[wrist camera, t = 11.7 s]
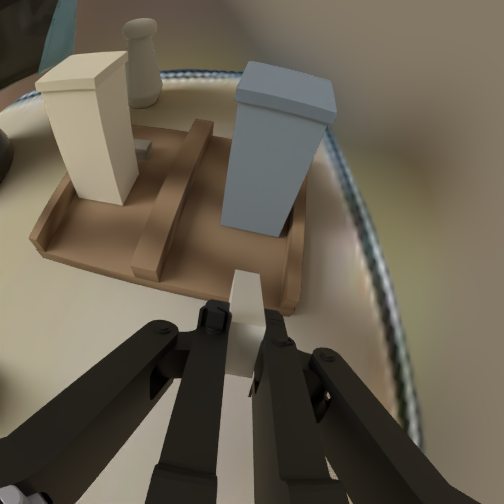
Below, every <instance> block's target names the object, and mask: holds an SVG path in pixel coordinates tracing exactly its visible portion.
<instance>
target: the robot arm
mask: <svg viewBox="0 0 504 504" xmlns="http://www.w3.org/2000/svg"><path fill="white" fill-rule="evenodd" d="M76 10H77V0H0V92H2V91H4V90H6V89H7V88H9V87H11V86H13V85H15V84H17V83H20V82H21V81H24V80H26V79H28V78H30V77H33V76H35V75H41V74H42V72H44V71H46V70H48V69H51V68H53V67H55V66H57V65H58V64H59V63H61V62H62V61H63V60H65V59H66V58H68V57H69V56H71V55H72V53H73V51H74V46H75V24H76ZM12 157H13V148H12V145H11V143H10V141H9V139H8V137H7V135H6V134H5V133H4V132H3V131H2V130H1V129H0V182H1V181H2V179H3V178H4V176H5V174H6V172H7V170H8V168H9V166H10V164H11V161H12ZM253 372H254V379H253V383H252V386H251V389H250V393H249V396H248V397H251V395H252V415H253V458H254V498H255V504H349V501H348V497H347V494H348V496H349V498H350V499H351V501H352V503H353V504H481V503H479V502H477V501H475V500H474V499H472V498H470V497H469V496H467V495H465V494H464V493H462V492H461V491H459V490H457V489H455V488H454V487H452V486H451V485H449V484H448V482H447V481H446V480H445V479H444V478H443V477H442V475H441V474H440V473H439V472H438V470H437V469H436V468H435V467H434V466H433V465H432V463H431V462H430V461H429V460H428V459H427V457H426V456H425V455H424V454H423V453H422V452H421V450H420V449H419V448H418V447H417V446H416V444H415V443H414V442H413V441H412V440H411V438H410V437H409V436H408V435H407V434H406V433H405V431H404V430H403V429H402V428H401V427H400V425H399V424H398V423H397V422H396V421H395V420H394V418H393V417H392V416H391V415H390V414H389V412H388V411H387V410H386V409H385V408H384V406H383V405H382V404H381V403H380V402H379V401H378V399H377V398H376V397H375V396H374V395H373V393H372V392H371V391H370V390H369V389H368V388H367V386H366V385H365V384H364V383H363V382H362V380H361V379H360V378H359V377H358V376H357V375H356V373H355V372H354V371H353V370H352V369H351V367H350V366H349V365H348V364H347V363H346V362H345V360H344V359H343V358H342V357H341V356H340V355H339V354H338V353H337V352H335V351H333V350H332V349H329V348H316V349H315V350H314V351H313V353H312V355H311V354H308V353H305V352H302V351H299V350H298V349H297V348H296V344H295V342H294V340H292V339H291V338H290V337H288V335H287V331H286V327H285V323H284V319H283V316H282V315H281V314H280V313H279V312H278V311H276V310H270V309H265V308H264V306H263V298H262V290H261V282H260V274H256V273H251V272H246V271H241V270H236V269H235V274H234V279H233V283H232V288H231V293H230V298H229V302H224V301H219V300H214V299H211V300H209V301H208V302H206V305H205V306H203V307H201V309H200V312H199V318H198V325H197V329H196V330H193V331H189V332H179V330H178V327H177V326H176V325H175V324H173V323H171V322H169V321H166V320H154V321H151V322H149V323H147V324H146V325H145V326H143V327H142V328H141V329H140V330H138V331H137V332H136V333H135V334H133V335H132V336H131V337H130V338H128V339H127V340H126V341H125V342H123V343H122V344H121V345H120V346H118V347H117V348H116V349H114V350H113V351H112V352H111V353H109V354H108V355H107V356H106V357H104V358H103V359H102V360H101V361H99V362H98V363H97V364H96V365H94V366H93V367H92V368H91V369H89V370H88V371H87V372H86V373H84V374H83V375H82V376H81V377H79V378H78V379H77V380H76V381H74V382H73V383H72V384H71V385H70V386H68V387H67V388H66V389H65V390H63V391H62V392H61V393H60V394H58V395H57V396H56V397H55V398H53V399H52V400H51V401H50V402H48V403H47V404H46V405H45V406H44V407H42V408H41V409H40V410H39V411H37V412H36V413H35V414H34V415H33V416H31V417H30V418H29V419H28V420H26V421H25V422H24V423H23V424H21V425H20V426H19V427H18V428H17V429H15V430H14V431H13V432H12V433H11V434H9V435H8V436H7V437H4V438H1V439H0V504H75V503H76V502H77V501H78V500H79V499H80V497H81V496H82V495H83V494H84V493H85V491H86V490H87V489H88V488H89V487H90V485H91V484H92V483H93V482H94V480H95V479H96V478H97V477H98V476H99V474H100V473H101V472H102V471H103V469H104V468H105V467H106V466H107V465H108V463H109V462H110V461H111V460H112V458H113V457H114V456H115V455H116V453H117V452H118V451H119V450H120V448H121V447H122V446H123V445H124V443H125V442H126V441H127V440H128V439H129V437H130V436H131V435H132V433H133V432H134V431H135V430H136V428H137V427H138V426H139V425H140V423H141V422H142V421H143V420H144V418H145V417H146V416H147V415H148V413H149V412H150V411H151V410H152V408H153V407H154V406H155V404H156V403H157V402H158V401H159V399H160V398H161V397H162V396H163V394H164V393H165V392H166V390H167V389H168V388H169V387H170V385H171V384H172V383H173V380H174V378H182V379H181V383H180V386H179V390H178V393H177V397H176V400H175V404H174V407H173V411H172V415H171V418H170V422H169V426H168V429H167V433H166V437H165V440H164V444H163V448H162V452H161V456H160V459H159V462H158V464H156V465H155V467H154V470H153V474H152V477H151V481H150V485H149V489H148V493H147V497H146V501H145V504H216V498H217V476H216V465H217V453H218V441H219V430H220V418H221V407H222V397H223V386H224V376H225V374H230V375H236V376H243V377H249V378H252V375H253ZM327 393H329V394H330V399H328V397H327V396H326V395H327ZM324 454H325V455H324ZM325 456H326V458H327V460H328V461H329V463H330V465H331V467H332V469H333V470H334V472H335V474H336V475H337V477H338V479H339V480H335V479H332V478H331V477H330V474H329V471H328V467H327V463H326V459H325ZM346 493H347V494H346Z"/></svg>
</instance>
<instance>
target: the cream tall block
mask: <svg viewBox="0 0 504 504" xmlns="http://www.w3.org/2000/svg"><path fill="white" fill-rule="evenodd" d="M127 61H128V51H117V52H101V53H89V54H80V55H71V56H69V57H68V58H66V59H65V60H63V61H62V62H61V63H59V64H58V65H57V66H55V67H54V68H53V69H51V70H50V71H49V72H48V73H46V74H45V75H44V76H43V77H41V78H40V79H39V80H38V81H37V82H35V86H36V90H37V92H41V94H42V98H43V101H44V105H45V108H46V111H47V115H48V118H49V121H50V124H51V127H52V130H53V133H54V136H55V139H56V142H57V144H58V147H59V150H60V153H61V155H62V158H63V161H64V163H65V166H66V168H67V171H68V173H69V176H70V178H71V180H72V183H73V185H74V188H75V190H76V192H77V194H78V197H79V198H84V199H89V200H95V201H100V202H106V203H111V204H117V205H122V206H123V204H124V202H125V200H126V198H127V196H128V194H129V192H130V190H131V189H132V187H133V185H134V183H135V181H136V179H137V177H138V175H139V171H138V165H137V159H136V153H135V147H134V141H133V134H132V127H131V119H130V111H129V103H128V94H127V84H126V72H125V63H126V62H127Z"/></svg>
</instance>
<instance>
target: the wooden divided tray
mask: <svg viewBox="0 0 504 504" xmlns="http://www.w3.org/2000/svg"><path fill="white" fill-rule="evenodd" d="M213 124H214V122H212V121H206V120H199V119H196V120H195V121H194V123H193V125H192V127H191V129H190V131H189V132H185V131H178V130H171V129H163V128H155V127H146V126H136V125H131V127H132V134H133V141H134V147H135V153H136V159H137V165H138V171H139V175H138V177H137V179H136V181H135V183H134V185H133V187H132V189H131V190H130V192H129V194H128V196H127V198H126V200H125V202H124V204H123V206H122V205H117V204H111V203H106V202H100V201H95V200H89V199H84V198H79V197H78V194H77V192H76V190H75V188H74V185H73V183H72V180H71V178H70V176H69V173H68V171H67V173H66V174H65V176H64V177H63V179H62V180H61V182H60V183H59V185H58V187H57V188H56V190H55V191H54V193H53V195H52V196H51V198H50V200H49V201H48V203H47V205H46V206H45V208H44V210H43V212H42V213H41V215H40V217H39V219H38V221H37V223H36V224H35V226H34V228H33V230H32V232H31V234H30V236H29V239H30V241H31V242H32V243H33V244H34V246H35V247H36V248H37V249H36V250H37V251H38V252H39V253H40V255H41V256H42V257H43V258H46V259H50V260H53V261H56V262H59V263H63V264H66V265H69V266H73V267H76V268H79V269H83V270H86V271H90V272H93V273H97V274H100V275H104V276H108V277H111V278H115V279H119V280H123V281H126V282H130V283H134V284H138V285H142V286H146V287H150V288H154V289H158V290H162V291H167V292H171V293H175V294H180V295H184V296H188V297H193V298H197V299H202V300H207V301H209V300H211V299H214V300H219V301H224V302H229V298H230V293H231V288H232V283H233V279H234V274H235V269H236V270H241V271H246V272H251V273H256V274H260V282H261V290H262V298H263V306H264V308H265V309H270V310H276V311H278V312H279V313H280V314H281V315H284V316H290V315H291V314H292V313H293V312H294V311H295V306H296V305H297V304H298V303H299V302H300V293H301V280H302V265H303V249H304V230H305V206H306V176H305V178H304V181H303V183H302V185H301V187H300V190H299V192H298V194H297V196H296V199H295V201H294V203H293V205H292V208H291V210H290V212H289V215H288V217H287V219H286V221H285V223H284V226H283V228H282V230H281V232H280V235H279V237H274V236H270V235H265V234H261V233H256V232H251V231H247V230H242V229H237V228H232V227H228V226H223V225H220V223H221V215H222V208H223V200H224V193H225V186H226V178H227V171H228V165H229V158H230V151H231V145H232V139H227V138H222V137H216V136H212V134H213Z"/></svg>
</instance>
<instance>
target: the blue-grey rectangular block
mask: <svg viewBox="0 0 504 504" xmlns="http://www.w3.org/2000/svg"><path fill="white" fill-rule="evenodd" d="M234 101H238V107H237V113H236V119H235V125H234V132H233V138H232V145H231V151H230V158H229V165H228V171H227V178H226V186H225V193H224V200H223V208H222V215H221V223H220V225H223V226H228V227H232V228H237V229H242V230H247V231H251V232H256V233H261V234H265V235H270V236H274V237H279V235H280V232H281V230H282V228H283V226H284V223H285V221H286V219H287V217H288V215H289V212H290V210H291V208H292V205H293V203H294V201H295V199H296V196H297V194H298V192H299V190H300V187H301V185H302V183H303V181H304V178H305V176H306V174H307V171H308V169H309V167H310V164H311V162H312V160H313V158H314V155H315V153H316V151H317V148H318V146H319V144H320V141H321V139H322V137H323V134H324V132H325V130H326V127H327V125H328V123H329V124H333V122H334V120H335V118H336V115H337V108H336V103H335V98H334V93H333V88H332V83H331V81H329V80H325V79H322V78H319V77H315V76H312V75H309V74H305V73H301V72H297V71H294V70H289V69H286V68H281V67H277V66H273V65H268V64H263V63H258V62H253V61H249V63H248V65H247V67H246V69H245V71H244V73H243V75H242V77H241V79H240V81H239V84H238V86H237V88H236V94H235V100H234Z"/></svg>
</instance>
